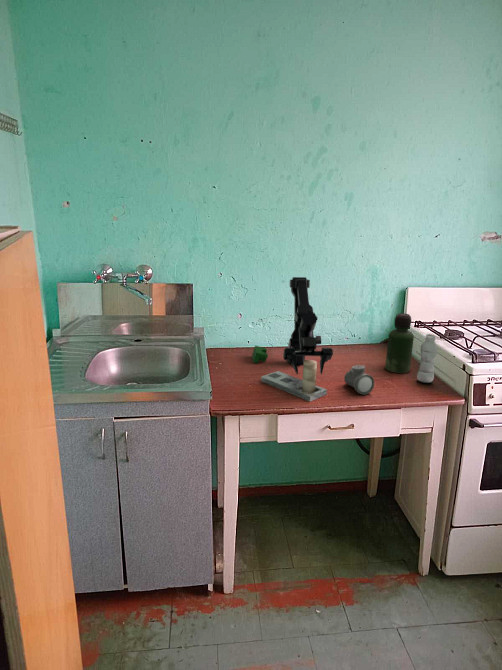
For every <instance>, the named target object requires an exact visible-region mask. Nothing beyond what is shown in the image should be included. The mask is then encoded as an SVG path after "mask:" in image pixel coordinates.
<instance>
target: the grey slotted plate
mask: <svg viewBox="0 0 502 670" xmlns="http://www.w3.org/2000/svg"><path fill="white" fill-rule="evenodd" d="M302 381H303V379H301V378H297V377H295V376H292V375H290V374H287V373H285V372H282V371H279V370H277V371H274V372H271V373H268V374H264V375H262V376H260V382H261V383H264V384H267V385H269V386H272V387H274V388H276V389H279V390H281V391H284V392H286V393H289V394H291V395H293V396H296V397H298V398H301V399H302V400H305V401H307V402H312V401H315V400H317V399H320V398H321V397H324V396H327V395H328V389H326V388H324V387H321V386H319V385H315V392H314V393H312V394H308V393H305V392H303V391H302Z"/></svg>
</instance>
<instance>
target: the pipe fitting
mask: <svg viewBox="0 0 502 670" xmlns="http://www.w3.org/2000/svg"><path fill="white" fill-rule="evenodd" d="M365 371H366V365H363V364H356V365H353V366H351V368H350V369H349V371H347V372H346V373H345V374H344V378H343V379H344V383H345V384H346V385H348V386H350V387H352V388H354V391H356V392H357V393H358V394H359V395H362V396H365V395H368V394H370V393H371V392H372V391H373V389H374V387H375V379H374V377H373V376H372V375H371V374H368V373H366V372H365Z"/></svg>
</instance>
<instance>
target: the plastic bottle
mask: <svg viewBox="0 0 502 670" xmlns="http://www.w3.org/2000/svg"><path fill="white" fill-rule="evenodd" d="M436 337H437V336H436V335H434V334H430V333H429V334H428V333H427V334H425V341H424V342H423V343H421V345H420V364H419V366H418V367H419V368H418V371H417V373H416V376H417V377H416V378H417V380H418V381H419V382H421V383H425V384H429V383H432V382H433V381H434V378H435V371H434V368H435V361H436V357H437V353H438V346H437V344H436V342H435V341H436Z"/></svg>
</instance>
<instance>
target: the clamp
mask: <svg viewBox="0 0 502 670" xmlns="http://www.w3.org/2000/svg"><path fill="white" fill-rule="evenodd" d="M268 356H269V354H268V349H267V348H266V347H263V346H258V345H254V348H253V351H252V355H251V357H252V363H255V364H258V363H259V362H263V363H266V362H267V358H268Z"/></svg>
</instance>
